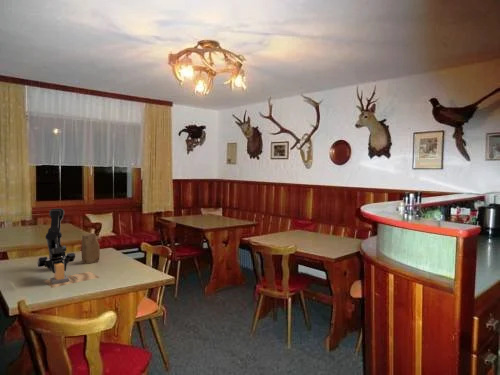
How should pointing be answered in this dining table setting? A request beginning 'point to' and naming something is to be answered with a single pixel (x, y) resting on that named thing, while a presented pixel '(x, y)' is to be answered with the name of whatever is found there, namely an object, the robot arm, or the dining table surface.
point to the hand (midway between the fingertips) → (59, 272)
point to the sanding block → (59, 274)
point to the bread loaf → (90, 248)
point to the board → (74, 279)
